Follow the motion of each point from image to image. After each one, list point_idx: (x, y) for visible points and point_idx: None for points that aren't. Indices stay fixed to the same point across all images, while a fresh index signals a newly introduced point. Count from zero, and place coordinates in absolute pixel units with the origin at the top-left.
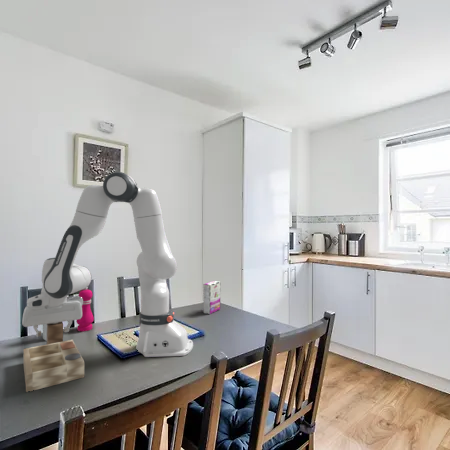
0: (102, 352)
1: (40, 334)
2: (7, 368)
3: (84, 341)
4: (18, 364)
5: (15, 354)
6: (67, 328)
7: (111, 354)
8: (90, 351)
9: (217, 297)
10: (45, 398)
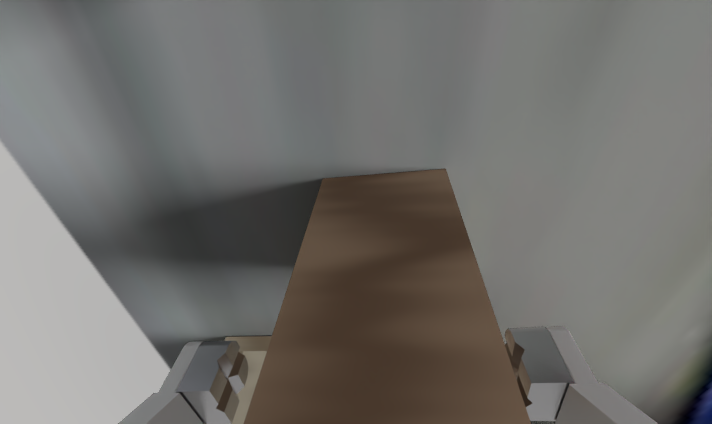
0: (642, 390)
1: (235, 393)
2: (168, 351)
3: (674, 173)
4: (205, 337)
5: (110, 199)
6: (553, 409)
7: (663, 421)
8: (594, 357)
9: None
10: None
